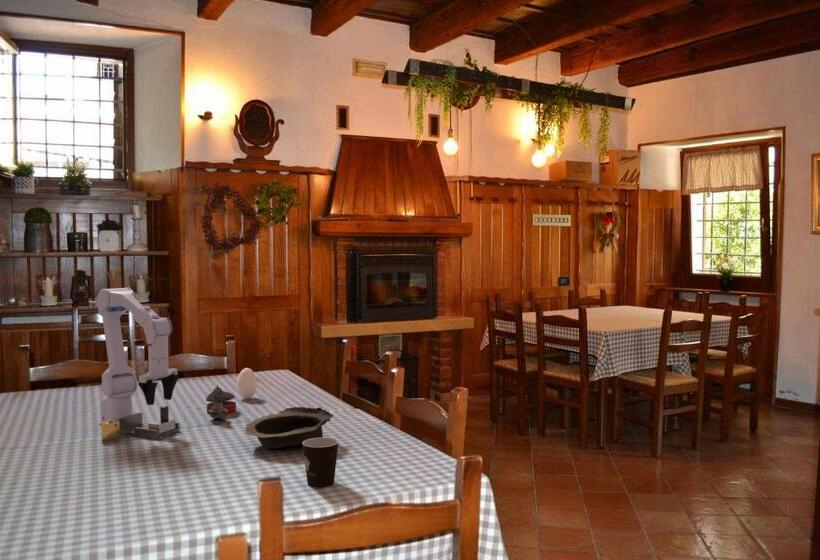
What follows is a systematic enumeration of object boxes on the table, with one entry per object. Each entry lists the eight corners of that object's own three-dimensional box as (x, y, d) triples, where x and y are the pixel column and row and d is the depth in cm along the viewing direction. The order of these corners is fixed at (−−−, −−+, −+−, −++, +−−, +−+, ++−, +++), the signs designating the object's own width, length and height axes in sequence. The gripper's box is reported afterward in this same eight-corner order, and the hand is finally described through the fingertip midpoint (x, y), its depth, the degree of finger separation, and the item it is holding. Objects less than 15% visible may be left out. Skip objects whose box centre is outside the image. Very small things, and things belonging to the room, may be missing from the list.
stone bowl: (345, 436, 211) (344, 406, 210) (307, 467, 188) (305, 433, 187) (273, 428, 219) (271, 400, 218) (227, 457, 196) (225, 425, 195)
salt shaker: (222, 423, 228) (221, 387, 228) (205, 422, 229) (204, 386, 229) (230, 419, 234) (229, 383, 233) (214, 418, 235) (213, 383, 235)
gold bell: (97, 440, 209) (97, 420, 208) (110, 436, 213) (110, 416, 213) (110, 442, 207) (110, 422, 206) (123, 437, 211) (122, 418, 211)
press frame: (114, 433, 216) (114, 419, 216) (138, 426, 225) (138, 412, 225) (156, 439, 210) (156, 424, 209) (179, 431, 219) (179, 416, 219)
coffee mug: (304, 478, 173) (303, 438, 173) (339, 476, 174) (338, 437, 174) (300, 494, 162) (300, 451, 161) (338, 493, 163) (337, 450, 162)
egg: (261, 398, 267) (260, 367, 267) (247, 401, 261) (246, 370, 261) (247, 395, 271) (246, 365, 271) (232, 399, 265) (232, 368, 265)
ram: (148, 432, 213) (148, 408, 212) (165, 427, 219) (164, 403, 219) (159, 433, 211) (159, 409, 211) (175, 428, 218) (175, 405, 217)
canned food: (207, 427, 242) (193, 402, 242) (225, 418, 251) (212, 393, 251) (230, 415, 237) (216, 389, 238) (247, 406, 246) (234, 380, 247)
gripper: (152, 362, 206) (152, 408, 207) (184, 355, 220) (185, 398, 220) (133, 360, 209) (134, 406, 209) (166, 354, 222) (167, 396, 223)
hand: (159, 402), depth 215 cm, fingers open, 7 cm apart
